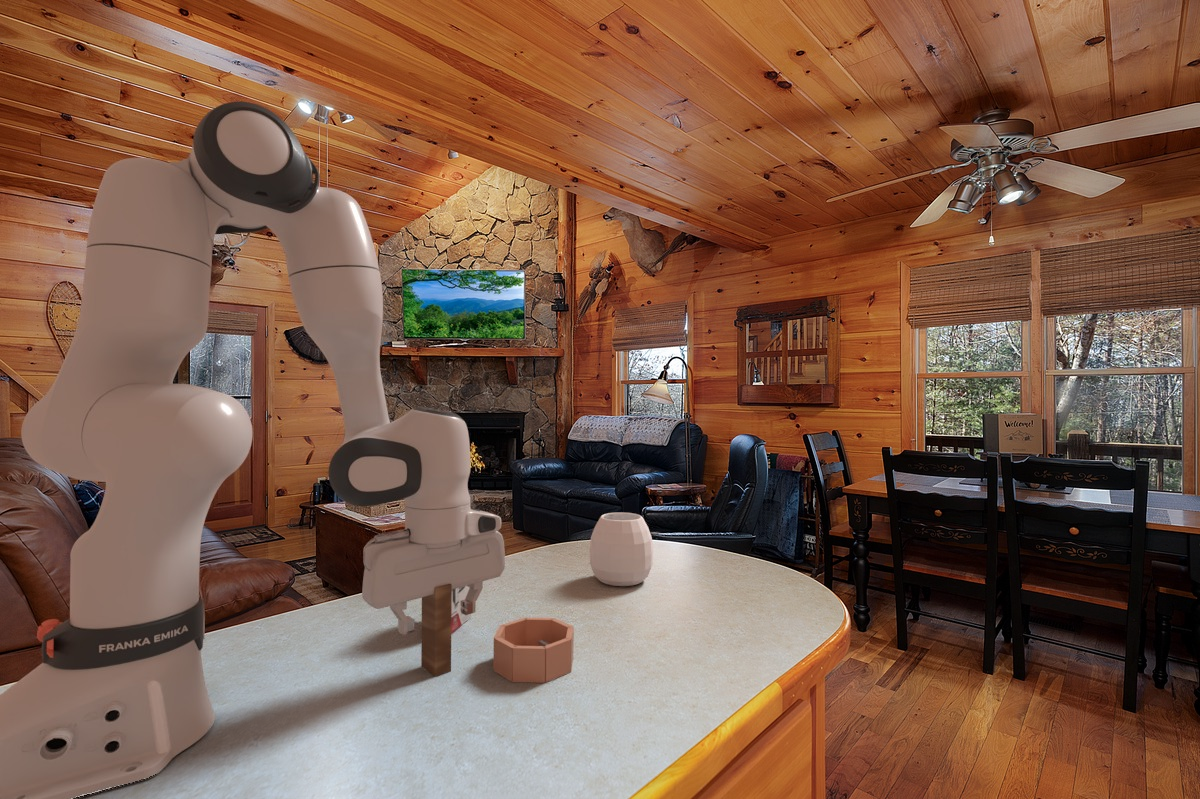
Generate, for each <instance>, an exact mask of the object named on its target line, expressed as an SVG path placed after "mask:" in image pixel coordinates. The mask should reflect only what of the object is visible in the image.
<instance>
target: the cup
mask: <svg viewBox="0 0 1200 799" xmlns="http://www.w3.org/2000/svg"><path fill="white" fill-rule="evenodd" d="M653 560H654V546H653V538H652V534H651V532H650V529H649V526H648V525H647V523H646V521H645V518H644V517H643V516H642V515H640V514H639V513H638V514H637V513H632V512H622V511H621V512H608V513H604V514H602V515H601V516H600V517H599V519H598V521H597V522H596V524H595V526H594V527H593V530H592V534H591V536H590V543H589V565H590V568H591V570H592V573H593V575H594V576H595V578H597V579H598V581H600V582H601V583H602V584H603V583H604V584H605V585H608V586H609V585H610V586H617V587H618V586H619V587H628V586H629V587H630V586H634V585H638V584H640V583H643V582H644V581H645V580H646V579H647V578H649V575H650V572H651V570H652V567H653V564H654V563H653V562H654V561H653Z"/></svg>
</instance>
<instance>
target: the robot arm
mask: <svg viewBox="0 0 1200 799" xmlns="http://www.w3.org/2000/svg"><path fill="white" fill-rule="evenodd" d="M192 142H193V144H192V148H191V151H190V153H189V155H188V157H187V158H184V159H182V160H180V161H179V160H178V161H169V162H167V161H164V160H159V159H156V158H150V157H131V158H130V157H129V158H124V159H120V160H118V161H115V162H114V163H112V164H111V165H110V166H108V168H107V169H106V171H105V172H104V174H103V177H102V180H101V182H100V185H99V186H98V190H97V194H96V197H95V200H94V203H93V207H92V211H91V216H90V221H89V227H88V230H87V231H88V232H87V240H86V250H85V263H84V264H85V265H84V273H83V282H82V292H81V299H80V300H81V303H80V310H79V316H78V321H77V325H76V328H75V332H74V334H73V335H74V336H73V338H72V339H71V344H70V346H69V348H68V351H67V353H66V355H65V358H64V360H63V362H62V363H61V364H62V365H61V367H60V369H59V371H58V373H57V376H56V378H55V380H54V382H53V383H52V385H51V387H50V388H49V390H48V391H47V392H46V393H45V395H44V396H43V397H41V398H40V399H39V400H38V401H37V402H36V403H35V404H33V405H32V406H31V408H30V409H29V410H28V412H27V413H26V415H25V416H24V419H23V421H22V424H21V429H20V430H21V431H20V433H21V434H20V435H21V442H22V445H23V448H24V449H25V451H26V453H27V455H28V456H29V457H30V458H31V459H32V460H33V461H34V462H36V463H37V464H38V465H40V466H41V467H43V468H46V469H48V470H51V471H53V472H55V473H58V474H60V475H63V476H65V477H68V478H71V479H74V480H78V481H84V482H85V481H87V482H102V483H105V489H104V495H103V498H102V502H101V505H100V508H99V511H98V513H97V515H96V518H95V520H94V521H93V523H92V525H91V526H90V528H89V529H88V530H87V531H85V532H84V533H83V534H82V535H80V536H79V537H78V538H77V539H76V541H75V542H74V544H73V545H72V547H71V550H70V554H69V555H70V568H69V570H70V571H69V572H70V575H69V576H70V577H69V578H70V580H69V581H70V582H69V618H68V619H66V620H64V621H60V619H58V618H50V619H47V620H44V621H43V622H40V623H41V625H39V626H38V627H37V631H36V638H37V639H38V641H39V642H40V643H41V658H42V662H41V664H39V665H38V666H36V667H35V668H34V669H33V670H31V671H30V672H28V673H27V674H26V675H25V676H23V677H22V678H21V679H19V680H18V681H17V682H15V683H14V684H13V685H11V686H10V687H9V688H7V689H6V690H4V692H2V693H0V799H71V798H75V797H76V796H77V797H78V796H80V795H82V794H87V793H92V792H95V791H98V790H103V789H106V788H109V787H114V786H118V785H122V784H127V785H129V784H128V783H130V784H132V783H131V782H134V783H136V782H135V781H138V782H140V781H139V780H141V779H144V778H148V779H150V778H151V777H150V776H152V777H154V776H156V775H157V774H159V773H160V772H161V771H162V770H163V769H164V768H166V767H167V765H168V764H169V763H170V762H171V761H172V759H173V758H175V757H176V756H177V755H178V754H179V755H180V753H182V752H183V751H185V750H186V749H188V748H189V747H191V746H192V745H194V744H195V743H197V741H198V742H199V740H200V739H202V738H203V737H204V736H205V735H206V734H207V733H208V732H209V731H210V729H211V728H212V727H213V725H214V723H215V720H216V713H215V711H214V708H213V706H212V703H211V700H210V696H209V694H208V690H207V685H206V680H205V675H204V668H203V660H202V649H203V646H204V640H205V634H206V633H205V630H206V629H205V625H206V624H205V621H206V618H205V616H206V615H205V612H206V611H205V607H204V600H202V598H201V596H200V562H201V560H200V559H201V543H202V535H203V534H202V533H203V529H204V524H205V521H206V518H207V515H208V512H209V510H210V507H211V504H212V501H213V499H214V498H215V495H216V494H217V491H218V490H219V488H220V487H221V485H222V484H223V482H224V481H225V480H226V479H227V478H228V477H230V476H231V475H232V474H234V472H236V471H237V470H238V469H239V468H240V467H241V466H242V465H243V463H244V462H245V460H246V459H247V457H248V455H249V453H250V450H251V447H252V442H253V425H252V422H251V418H250V415H249V413H248V411H247V410H246V408H245V406H243V404H241V402H240V401H239V400H238V399H236V398H234V397H233V396H231V395H229V394H227V393H224V392H220V391H218V390H213V389H211V388H207V387H204V386H199V385H194V384H188V383H173V382H174V379H175V377H176V375H177V372H178V370H179V367H180V365H181V364H182V362H183V360H184V359H185V358H186V356H187V355H188V354H189V352H191V351H192V350H193V349H194V348H195V347H197V345H198V344H200V343H201V342H202V340H204V337H205V336H206V334H207V331H208V325H209V323H208V322H209V308H210V293H211V280H212V279H211V277H212V265H213V264H212V260H213V247H214V240H215V235H226V234H249V233H250V234H252V233H258V232H261V231H264V230H267V229H269V230H270V231H271V232H272V233H273V235H275V236H276V238H277V240H278V242H279V243H280V245H281V248H282V251H283V253H284V255H285V261H286V269H287V277H288V282H289V286H290V287H289V288H290V291H291V295H292V299H293V302H294V304H295V308H296V311H297V313H298V316H299V320H300V321H301V323H302V326H303V328H304V330H305V332H306V333H307V335H308V337H310V338H311V340H312V341H313V342H314V343H315V345H316V346H317V347H318V348H319V350H320V351H321V352H322V354H323V356H324V357H325V359H326V361H327V363H328V364H329V366H330V369H331V371H332V374H333V378H334V380H335V384H336V385H335V386H336V389H337V394H338V400H339V404H340V410H341V414H342V420H343V424H344V434H343V440H342V444H341V445H340V446H339V447H338V448H337V450H336V451H335V453H334V454H333V456H332V457H331V460H330V462H329V465H328V480H329V484H330V487H331V489H332V490H333V491H334V493H335V494H336V495H337V496H338V497H339V498H340V499H341V500H342V501H344V502H346V503H347V504H349V505H351V506H356V507H364V508H365V507H366V508H367V507H368V508H369V507H376V506H380V505H383V504H389V503H393V502H397V501H400V500H404V529H400V530H396V531H392V532H388V533H385V532H384V533H379V534H376V535H374V536H373V538H371V539H370V540H369V541H368V542H367V543H366V544H365V545H364V547H363V551H362V552H363V553H362V554H363V557H362V558H363V566H364V571H363V577H362V578H363V580H362V589H361V590H362V591H361V592H362V593H361V596H362V600H363V601H364V602H365V603H366V604H368V605H369V606H370V607H371V608H374V609H377V610H381V609H384V608H388V607H389V608H390V610H391V611H392V613H393V615H394V616H395V618H396V619H397V620H398V621H397V624H398V625H397V629H398V632H399V634H401V635H406V634H409V633H412V632H415V618H413V617H412V616H410V615H406V613H404V610H407V609H408V608H407V607H408V603H407V602H410V601H413V600H418V599H422V597H426V596H429V595H433V594H434V587H439V586H443V585H447V584H452V589H456V588H459V587H463V586H467V587H470V588H469V591H468V593H467V596H466V598H465V599H464V600H461V601H460V605H461V608H460V609H461V613H462V614H464V615H469V614H471V615H472V614H475V613H476V606H477V605H476V604H477V601H478V599H479V596H480V594H481V593H482V590H483V583H484V581H488V580H494V579H496V578H499V577H501V576H502V574H503V572H504V570H505V566H506V553H505V541H504V537H503V534H501V532H499V531H500V529H501V528H502V518H501V516H499V515H497V514H494V513H491V512H488V511H483V510H480V509H478V508H475V507H471V496H470V492H469V488H468V486H469V485H468V482H469V478H470V474H471V446H470V445H471V444H470V436H469V435H470V434H469V430H468V426H467V423H466V422H465V420H464V419H463V418H462V417H461V416H460V415H459V414H457V413H455V412H452V411H447V410H443V409H439V408H438V409H437V408H431V407H421V406H418V407H414V408H411V409H410V410H409V411H408V412H406V413H405V414H404V415H402V416H400V417H398V418H397V419H395V420H393V421H391V418H390V414H389V409H388V405H387V400H386V394H385V389H384V383H383V378H382V372H381V364H380V362H381V361H380V360H381V359H380V357H381V356H380V352H381V343H382V342H381V340H382V334H383V333H382V331H383V322H384V298H383V295H384V294H383V284H382V278H381V272H380V266H379V261H378V258H377V257H378V256H377V253H376V249H375V245H374V242H373V238H372V234H371V231H370V229H369V226H368V223H367V220H366V217H365V215H364V212H363V209H362V207H361V206H360V204H359V203H358V202H357V200H356V199H355V198H353V197H352V196H351V195H350V194H348V193H346V192H345V191H343V190H340V189H338V188H337V189H336V188H333V187H327V186H320V181H321V180H320V178H321V177H320V175H321V174H320V172H319V169H318V168H317V166H316V164H314V162H313V161H312V159H311V158H310V157H309V156H308V155H307V154H306V152H305V150H304V148H303V146H302V144H301V143H300V141H299V139H298V137H297V136H296V135H295V133H294V131H293V130H292V129H291V127H290V126H289V125H288V124H287V123H286V122H285V121H284V120H283V119H282V118H281V117H280V116H279V115H277V114H276V113H275V112H274V111H272V110H270V109H268V108H266V107H264V106H262V105H259V104H257V103H253V102H248V101H230V102H227V103H226V102H225V103H223V104H220V105H218V106H216V107H214V108H213V109H211V110H210V111H208V112H207V113H206V114H205V115H204V116H203V117H202V119H201V120H200V122H199V123H198V125H196V128H195V130H194V133H193V140H192ZM155 774H156V775H155ZM153 775H154V776H153ZM149 777H150V778H149ZM141 781H142V780H141Z"/></svg>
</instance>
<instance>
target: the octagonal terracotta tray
mask: <svg viewBox="0 0 1200 799" xmlns="http://www.w3.org/2000/svg"><path fill="white" fill-rule="evenodd" d="M574 629H575V628H574V626H573V625H570V624H569V623H567V622H565V621H562V620H559V619H557V618H555V617H522V618H519V619H516V620H513V621H509V622H506V623H504V624H500V625H499V627H498V629H497V631H496V632H495V635H494V636H493V672H495V673H497V674H498V675H501V676H502V677H503V678H505V679H506V680H508V681H510V682H512V683H541V684H543V683H544V684H545V683H547V682H550V681H553V680H555V679H557V678H560V677H562V676H564V675H567V674H569V673H571V672H572V670H573V662H574V641H575V640H574V639H575V638H574V632H575V630H574Z"/></svg>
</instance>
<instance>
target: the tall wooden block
mask: <svg viewBox="0 0 1200 799" xmlns="http://www.w3.org/2000/svg"><path fill="white" fill-rule="evenodd" d="M451 608H452V584H447V585H443V586H439V587H434V594H433V595H429V596H426V597H422V598H421V652H420V654H421V655H420V657H421V664H420V667H421V668H422V669H424V670H425V671H426V672H428V673H429V674H430V675H432V676H433V677H435V678H436V677H439V676H441V675H442V676H443V675H445V674H446V673H447V674H448V673H450V672H451V671H452V634H451Z"/></svg>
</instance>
